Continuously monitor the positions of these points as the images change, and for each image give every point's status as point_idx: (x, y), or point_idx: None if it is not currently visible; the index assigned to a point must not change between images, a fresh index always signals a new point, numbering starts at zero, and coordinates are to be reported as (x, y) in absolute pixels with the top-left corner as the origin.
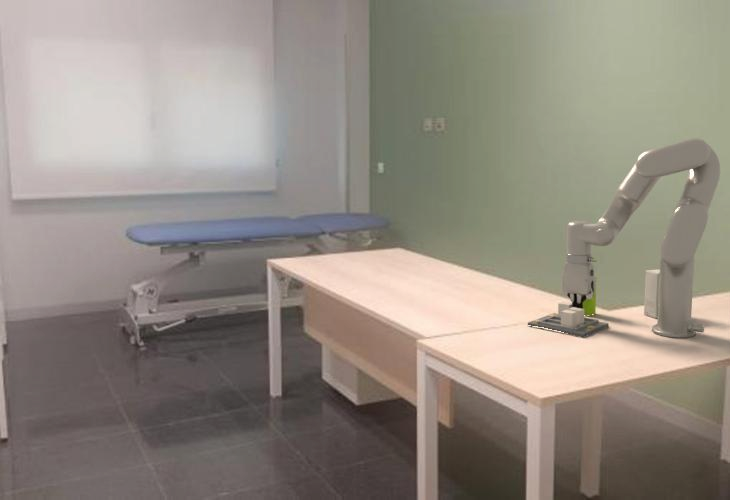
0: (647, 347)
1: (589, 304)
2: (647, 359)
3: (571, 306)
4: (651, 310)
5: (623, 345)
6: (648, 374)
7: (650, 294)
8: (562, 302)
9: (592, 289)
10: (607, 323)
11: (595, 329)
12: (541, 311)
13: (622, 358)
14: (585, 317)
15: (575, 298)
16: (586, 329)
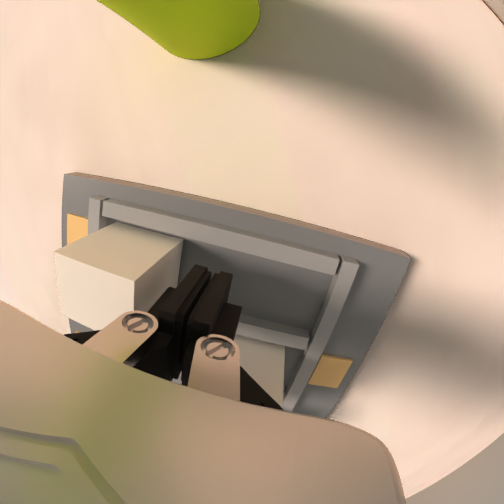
0: (478, 408)
1: (217, 13)
2: (449, 457)
3: (142, 305)
4: None
5: (428, 428)
6: (426, 487)
7: None
8: (63, 281)
9: (348, 458)
10: (406, 267)
11: (350, 376)
12: (24, 121)
13: (405, 475)
14: (261, 242)
15: (142, 367)
16: (312, 401)
